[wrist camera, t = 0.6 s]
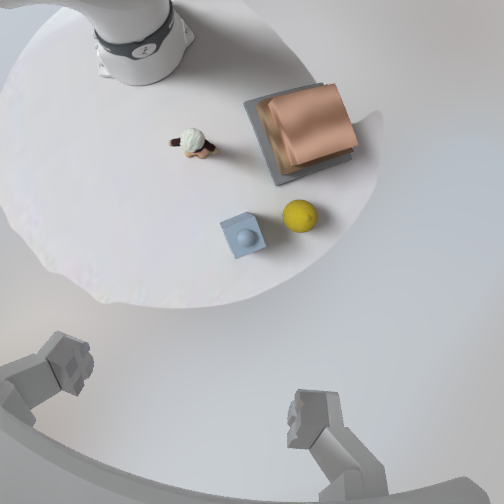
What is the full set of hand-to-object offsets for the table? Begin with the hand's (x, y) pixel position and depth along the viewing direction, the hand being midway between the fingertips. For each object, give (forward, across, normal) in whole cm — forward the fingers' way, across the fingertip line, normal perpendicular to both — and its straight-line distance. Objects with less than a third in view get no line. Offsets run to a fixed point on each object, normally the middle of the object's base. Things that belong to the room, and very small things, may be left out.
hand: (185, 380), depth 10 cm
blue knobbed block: (+41, +2, +10) cm, 42 cm away
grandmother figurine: (+42, +12, -3) cm, 44 cm away
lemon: (+44, -7, +6) cm, 45 cm away
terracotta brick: (+47, -6, -9) cm, 48 cm away
